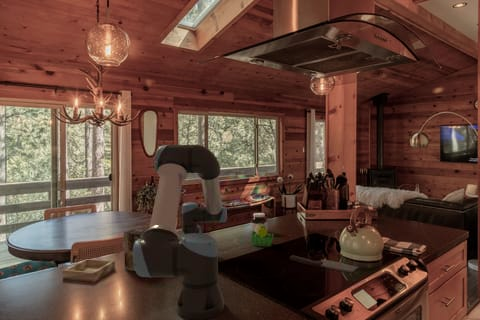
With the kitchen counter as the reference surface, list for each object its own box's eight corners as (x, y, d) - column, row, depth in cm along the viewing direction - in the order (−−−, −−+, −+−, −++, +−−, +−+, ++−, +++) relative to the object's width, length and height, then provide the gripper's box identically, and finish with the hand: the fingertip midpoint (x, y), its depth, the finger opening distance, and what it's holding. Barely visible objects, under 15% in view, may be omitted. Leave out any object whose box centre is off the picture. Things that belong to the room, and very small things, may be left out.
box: (93, 282, 129) (93, 273, 129) (62, 279, 132) (62, 270, 132) (115, 269, 143) (114, 261, 142) (86, 266, 146) (86, 258, 146)
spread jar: (260, 230, 206) (260, 211, 205) (274, 233, 198) (274, 214, 197) (246, 234, 198) (246, 214, 197) (260, 237, 189) (259, 217, 189)
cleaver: (287, 262, 150) (287, 257, 150) (295, 255, 158) (295, 251, 158) (355, 275, 135) (355, 269, 135) (360, 267, 143) (360, 262, 143)
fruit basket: (273, 243, 178) (273, 222, 178) (272, 248, 170) (272, 226, 169) (252, 242, 180) (252, 221, 180) (250, 247, 172) (250, 225, 171)
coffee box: (151, 267, 144) (150, 230, 144) (141, 272, 139) (140, 234, 138) (134, 264, 148) (133, 228, 148) (124, 269, 142) (123, 232, 142)
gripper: (189, 252, 148) (147, 264, 133) (158, 241, 165) (118, 251, 150) (189, 235, 148) (147, 246, 132) (158, 226, 165) (117, 235, 150)
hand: (131, 249), depth 141 cm, fingers open, 13 cm apart
